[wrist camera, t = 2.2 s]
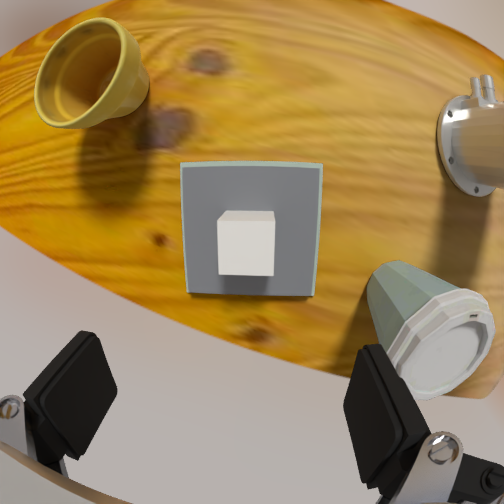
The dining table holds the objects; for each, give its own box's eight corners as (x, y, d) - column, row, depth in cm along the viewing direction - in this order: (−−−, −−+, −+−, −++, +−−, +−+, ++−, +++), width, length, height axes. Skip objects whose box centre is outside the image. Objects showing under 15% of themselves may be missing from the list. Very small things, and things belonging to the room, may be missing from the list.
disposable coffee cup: (412, 322, 31) (469, 399, 16) (338, 325, 31) (374, 422, 17) (432, 244, 27) (517, 298, 13) (352, 238, 28) (422, 305, 14)
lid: (185, 167, 26) (164, 168, 20) (317, 168, 25) (332, 169, 20) (190, 288, 30) (175, 315, 24) (309, 291, 29) (319, 320, 24)
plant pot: (168, 123, 25) (123, 107, 16) (88, 143, 26) (31, 141, 16) (166, 40, 22) (129, 0, 13) (89, 65, 23) (39, 44, 13)
